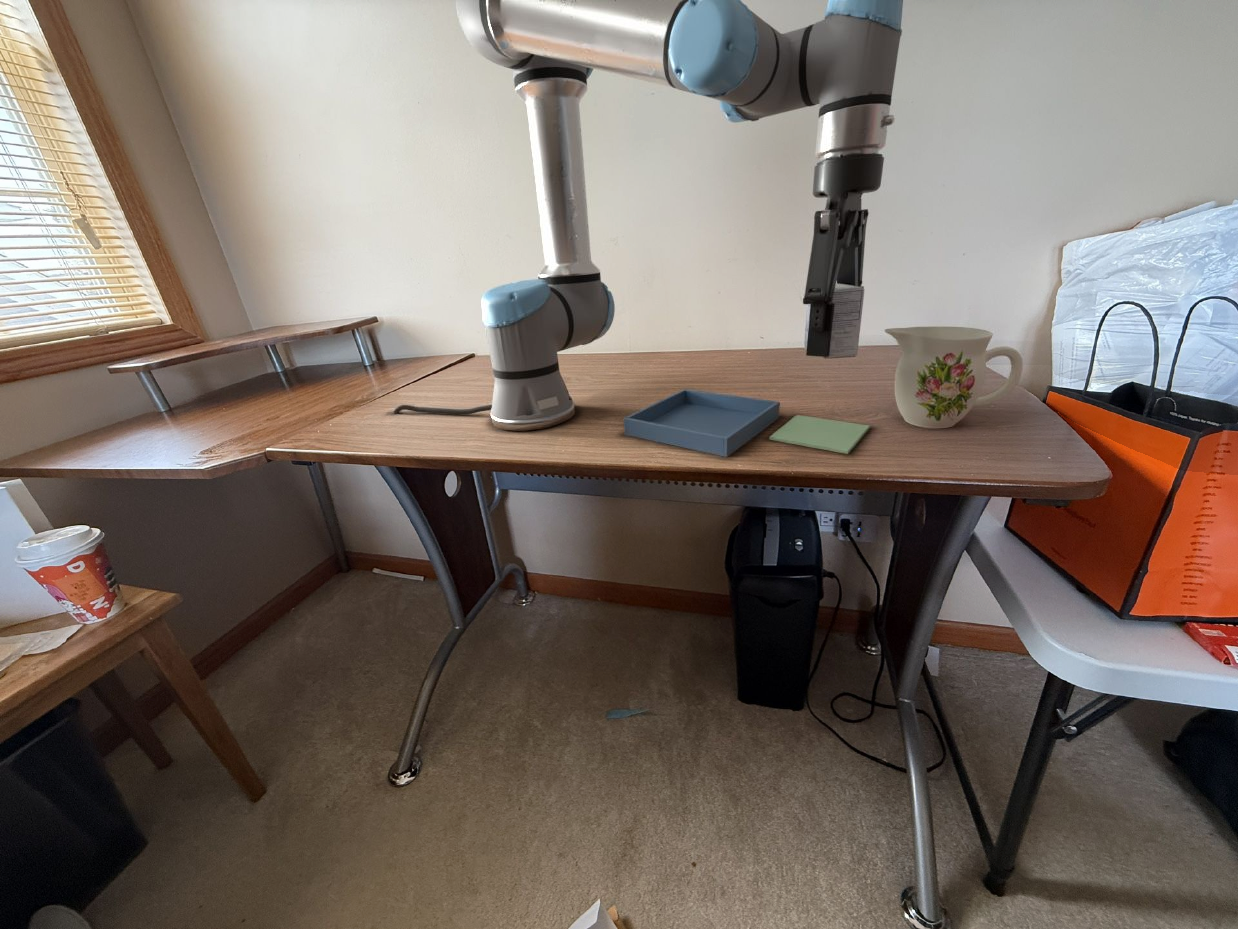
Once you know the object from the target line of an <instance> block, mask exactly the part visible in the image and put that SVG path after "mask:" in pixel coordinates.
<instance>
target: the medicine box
mask: <svg viewBox="0 0 1238 929" xmlns="http://www.w3.org/2000/svg"><path fill="white" fill-rule="evenodd" d="M864 298H865V287H864V288H863V287H858V286H852V285H846V284H837V283H836V285H835V289H834V294H833V299H832V302H831V304H834V314H833V324H832V333H831V343H830V352H829V356H828V357H822V358H823V359H827V360H829V359H844V358H845V359H846V358H855V357H857V356H858V354H859V353H858V352H859V342H860V335H861V326H862V325H861V324H862V315H863V306H864ZM809 316H810V304H806V316H805V317H806V319H805V329H804V348H805V349H806V350H807V340H808V328H809Z"/></svg>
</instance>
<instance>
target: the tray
mask: <svg viewBox="0 0 1238 929" xmlns="http://www.w3.org/2000/svg"><path fill="white" fill-rule="evenodd" d="M780 406H781V401H777V400H770V399H761V398H755V397H748V396H739V395H733V394H732V395H731V394H724V393H717V392H710V391H702V390H695V389H686V388H683V389H681V390H679V391H677V392H675V393H673V394H671V395H669V396H666V397H665V398H663V399H661V400H658V401H657V402H655V403H652V404H650V405H649V406H646V407H644V408H642V409H640V410H638V411H635V412H634V413H631V414H630V415H628V416H625V417H623V428H624V436H628V437H632V438H638V439H643V440H646V441H651V442H657V443H661V444H665V445H669V446H675V447H680V448H683V449H688V450H693V451H698V452H702V453H706V454H711V455H716V456H721V457H725V458H728V457H729V456H731V455H732V454H733V453H735V452H736V451H738V449H740V448H741V447H742V446H744V445H745V444H746V443H748V442H749V441H751V440H752V439H753V438H754V437H756V436H757V435H759V433H761V432H763V431H764V430H765V429H766V428H767V427H769V426H770V425H772V424H773V423H775V422H776V421H777V420H778V419H779V418H780Z"/></svg>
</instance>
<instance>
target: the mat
mask: <svg viewBox="0 0 1238 929" xmlns="http://www.w3.org/2000/svg"><path fill="white" fill-rule="evenodd" d="M870 427H871V426H870V425H868V424H861V423H854V422H849V421H843V420H842V421H841V420H834V419H827V418H820V417H814V416H807V415H800V414H796V415H795V416H793V417H792V418H791V419H790V420H789V421H787V422H786V423H785V424H783V425H782V426H781V427H779V428H778V429H777V430H776V431H774V432H773V433H772V434H771V435H770V436H769V437H768V438H769V439H768V440H769V441H775V442H780V443H786V444H789V445H790V444H791V445H795V446H802V447H808V448H812V449H818V450H823V451H830V452H834V453H840V454H845V455H848V454H849V453H850V452H851V451H852V450H853V448H855V446H856V445H857V444H858V443H859V441H860V440H861V439H862V438H863V437H864V436H865V435H866V433H867V432H868V431H869V430H870Z"/></svg>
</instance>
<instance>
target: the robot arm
mask: <svg viewBox="0 0 1238 929" xmlns="http://www.w3.org/2000/svg"><path fill="white" fill-rule="evenodd" d="M455 7H456V8H455V9H456V13H457V18H458V21H459V25H460V27H461V29H462V31H463V33H464V36H465V37H466V39H467V40H468V43H470V45H471V47H472V48H473V49H474V50H475V51H476V52H477V53H478V54H480V56H482V57H483V58H485V59H486V60H487V61H489V62H491V63H493V64H496V65H498V66H501V67H503V68H507V69H510V70H512V76H513V83H514V90H515V92H514V93H515V95H516V96H517V97H518V98H519V99H520V100H521V101H522V102H523V103H524V104H525V107H526V114H527V122H528V130H529V139H530V148H531V155H532V165H533V173H534V182H535V191H536V199H537V209H538V216H539V224H540V225H539V226H540V234H541V243H542V251H543V260H544V264H543V266H542V268H541V270H540V271H539V272H538V273H537V277H538V279H537V278H536V279H525V280H519V281H516V282H509V283H505V284H502V285H501V284H500V285H499V286H494V287H493V288H491V289H489V290H487V291H486V292H485V293H483V295H482V297H481V300H480V305H481V315H482V319H481V320H482V324H483V326H484V331H485V335H486V342H487V345H488V351H489V357H490V363H491V368H492V374H493V378H494V387H493V393H492V401H491V404H487V405H481V406H477V407H471V408H463V409H462V408H460V409H459V408H445V407H444V408H443V407H430V406H429V407H427V406H415V405H411V404H410V405H409V404H401V405H398V406H397V407H395V409H393V411H392V414H393V415H397V414H399V413H400V412H401V411H411V412H415V413H416V412H417V413H432V414H445V415H447V414H448V415H471V414H477V413H480V412H486V411H490V418H491V423H492V426H494V427H495V428H498V429H501V430H505V431H515V432H519V431H521V432H522V431H533V430H540V429H546V428H551V427H553V426H557V425H559V424H562V423H565V422H567V421H569V419H571V418H572V417H573V416H575V413H576V410H575V403H574V400H573V398H572V396H571V395H570V393H569V389H568V387H567V386H566V382H565V381H564V378H563V376H562V374H561V372H560V371H561V370H560V364H559V357H558V352H559V353H560V352H562V351H565V350H568V349H572V348H576V347H580V346H586V345H590V344H591V343H593V342H594V341H597V340H599V339H600V338H601V339H602V337H603V336H605V335H606V333H607V332H608V331H609V330H610V329H611V326H612V324H613V321H614V319H615V310H616V308H615V307H616V306H615V300H614V296H613V293H612V291H610V290H609V287H608V286H607V284H605V282H603V281H602V279H601V278H602V276H601V270H600V268H599V267H598V266H597V265H596V264H595V263H594V262H593V261H592V253H591V241H590V238H591V237H590V229H589V228H590V227H589V226H590V225H589V215H588V214H589V213H588V202H587V200H588V199H587V188H586V176H585V174H586V173H585V162H584V161H585V160H584V149H583V136H582V122H581V110H580V103H581V100H582V99H583V97H584V96H585V95H586V93H587V92H588V81H587V80H588V79H589V78H590V76H591V75H592V73H593V71H594V70H598V71H602V72H606V73H610V74H613V75H618V76H622V77H626V78H631V79H635V80H639V81H644V82H647V83H652V84H656V85H660V86H665V87H668V88H672V89H676V90H678V91H681V92H687V93H690V94H694V95H698V96H701V97H702V96H703V97H705V98H709V99H713V100H716V101H718V103H719V106H720V109H721V111H722V113H724V116H725V118H726V120H727V121H729V122H730V123H733V124H734V123H737V124H738V123H742V122H749V121H750V122H757V121H759V120H760V119H763V118H767V117H772V116H775V115H779V114H784V113H788V112H791V111H795V110H799V109H804V108H808V107H814V106H816V105H819V109H818V119H817V129H816V141H815V152H814V156H815V157H816V158H817V159H819V161H818V162H817V163H816V165H815V166H814V171H813V184H812V195H813V197H814V198H816V199H817V198H818V199H822V198H823V199H825V198H827V199H826V201H825V202H826V203H825V207H824V209H823V210H816V211H815V213H814V216H813V235H812V242H811V249H810V255H809V261H808V262H809V264H808V269H807V276H806V281H805V282H806V283H805V289H804V295H803V298H802V304H803V305H807V304H810V316H809V328H808V340H807V349H806V351H805V352H806V353H805V356H807V357H819V358H820V357H821V358H823V357H828V356H829V352H830V343H831V333H832V324H833V314H834V304H831V302H832V299H833V294H834V289H835V285H836V284H846V285H852V286H858V287H863V288H864V289H865V286H863V273H864V262H865V261H864V260H865V245H866V231H867V224H868V218H869V214H870V213H869V209H868V208H866V209H865V208H864V209H862V200H863V199H862V196H863V195H864V194H868V193H874V192H876V191H878V190H879V189H880V188H881V184H882V177H883V170H884V163H885V157H884V156H883V154H882V153H879V151H881V150H883V149H884V148H885V146H886V143H887V136H888V127H889V126H892V125H893V124H894V122H895V116H894V114H890V111H891V105H892V97H893V89H894V83H895V76H896V67H897V62H898V56H899V49H900V42H901V37H902V33H903V29H902V19H903V7H904V0H828V1H827V6H826V11H825V12H824V19H822V20H819V21H816V22H815V23H813V24H810V25H809V24H808V26H804V27H801V28H798V29H795V30H791V31H787V32H785V33H781V32H780V31H778V30H777V29H775V28H774V27H773V26H771V25H770V24H769V23H768V22H767V21H765V20H764V19H762V18H761V17H760V16H758V15H757V14H756V13H755V12H754V11H752V10H751V9H750V8H749V7H748V6H747V5H746V4H745V3H744V2H743V1H742V0H455Z"/></svg>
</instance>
